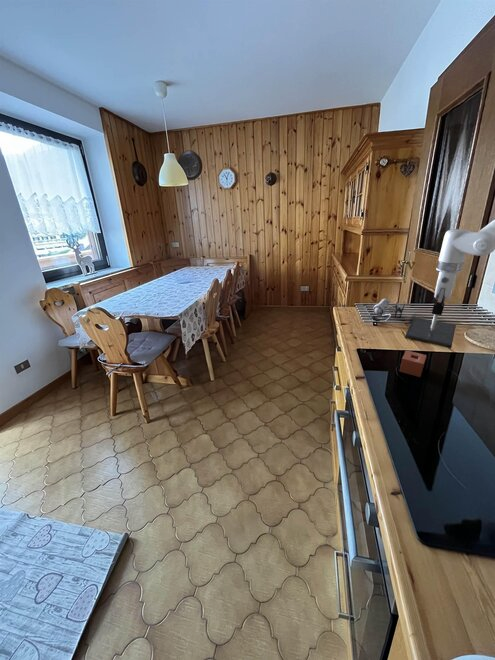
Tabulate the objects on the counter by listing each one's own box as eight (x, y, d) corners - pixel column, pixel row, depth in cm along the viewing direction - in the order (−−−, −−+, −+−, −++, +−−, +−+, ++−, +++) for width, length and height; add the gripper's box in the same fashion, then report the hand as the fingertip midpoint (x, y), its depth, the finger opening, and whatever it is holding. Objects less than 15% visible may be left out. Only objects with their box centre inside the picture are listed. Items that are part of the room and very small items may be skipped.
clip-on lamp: (390, 332, 121) (405, 310, 131) (393, 320, 117) (409, 299, 127) (364, 322, 128) (380, 303, 137) (365, 311, 124) (382, 292, 133)
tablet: (457, 327, 116) (458, 324, 115) (453, 348, 102) (454, 345, 101) (413, 319, 125) (414, 316, 124) (404, 337, 111) (405, 335, 110)
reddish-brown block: (423, 368, 92) (426, 355, 90) (420, 377, 88) (423, 364, 86) (403, 362, 96) (405, 350, 93) (399, 371, 91) (402, 358, 89)
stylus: (433, 330, 112) (442, 299, 107) (433, 331, 111) (442, 300, 106) (430, 329, 113) (438, 299, 107) (429, 330, 112) (438, 300, 106)
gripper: (460, 272, 93) (446, 323, 101) (463, 262, 104) (450, 308, 112) (434, 270, 97) (422, 318, 106) (439, 260, 108) (428, 305, 116)
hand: (436, 313), depth 109 cm, fingers closed on stylus, 1 cm apart
